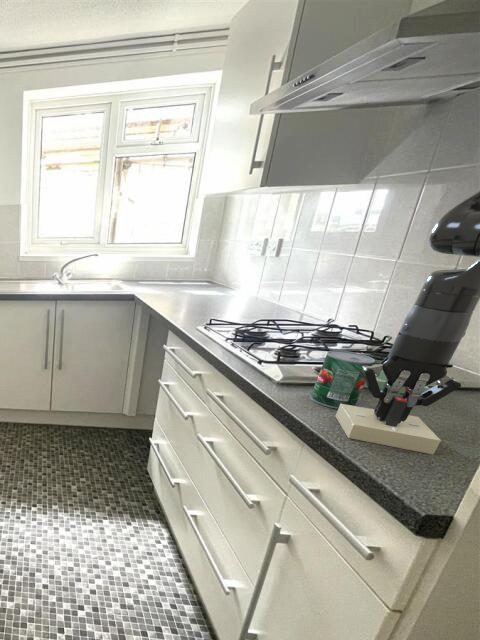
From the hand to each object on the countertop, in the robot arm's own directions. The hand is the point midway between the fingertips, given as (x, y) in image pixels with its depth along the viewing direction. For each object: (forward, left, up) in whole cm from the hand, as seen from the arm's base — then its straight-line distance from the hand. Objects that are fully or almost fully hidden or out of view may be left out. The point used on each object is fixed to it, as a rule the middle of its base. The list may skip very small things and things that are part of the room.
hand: (387, 419), depth 79 cm
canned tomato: (+5, -13, -3) cm, 15 cm away
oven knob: (0, 0, 0) cm, 0 cm away
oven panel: (0, 0, -3) cm, 3 cm away
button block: (-9, -32, -3) cm, 34 cm away
